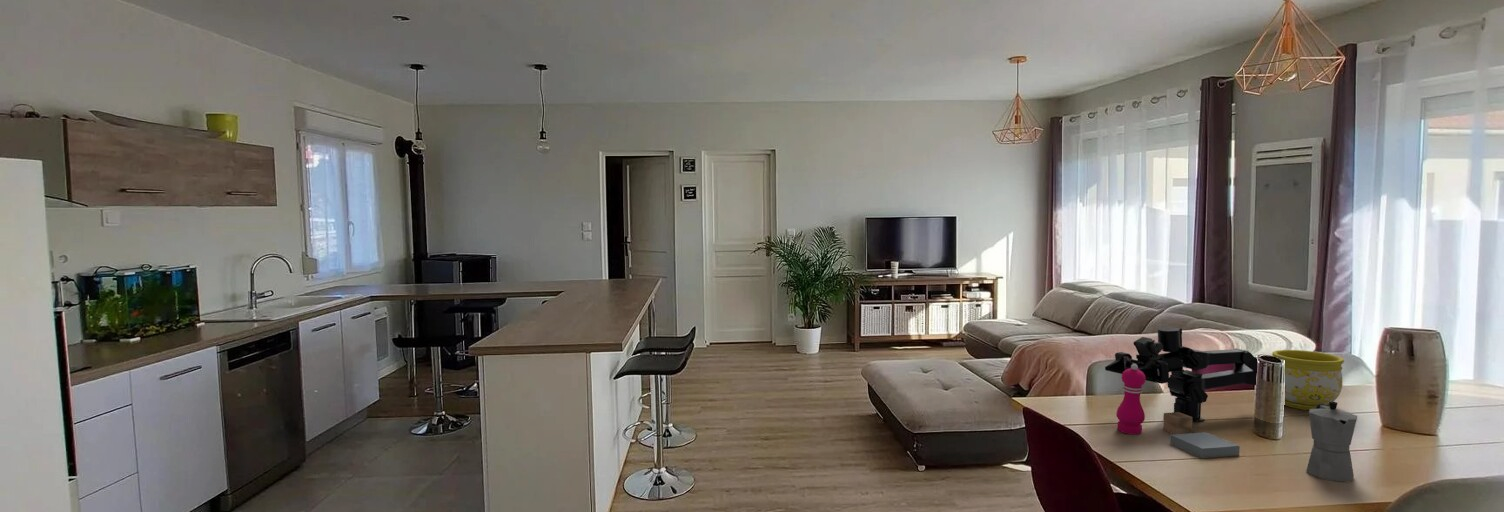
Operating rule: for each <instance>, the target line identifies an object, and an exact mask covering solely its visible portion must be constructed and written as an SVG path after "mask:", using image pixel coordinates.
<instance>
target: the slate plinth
mask: <svg viewBox="0 0 1504 512" xmlns="http://www.w3.org/2000/svg"><path fill="white" fill-rule="evenodd" d="M1169 439H1170V440H1169V444H1170V445H1172V446H1175V447H1176V448H1179V449H1181V450H1183V451H1184V452H1188V453H1190V454H1191V455H1194V456H1197V457H1199V458H1201V459H1205V458H1206V459H1207V458H1219V457H1221V458H1222V457H1230V456H1231V457H1232V456H1233V457H1234V456H1240V451H1241V450H1240V448H1241V447H1240V445H1239V444H1236V443H1233V442H1232V441H1229V440H1226V439H1223V438H1221V437H1219V436H1216V435H1214V434H1211V433H1208V432H1204V431H1203V432H1192V433H1189V434H1175V435H1174V434H1170V435H1169Z"/></svg>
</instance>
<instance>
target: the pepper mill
mask: <svg viewBox="0 0 1504 512" xmlns="http://www.w3.org/2000/svg"><path fill="white" fill-rule="evenodd" d="M1121 381H1122V382H1123V384H1122V390H1123V391H1124V394H1123V395H1124V396H1123V399H1122V401H1121V403H1120V404H1119V406H1118V408H1117V410H1116V413H1115V414H1116V418H1117V420H1118V421H1117V427H1116V428H1117V430H1118V431H1120V432H1122V433H1123V434H1129V435H1139V434H1141V433H1142V432H1143V425H1142V423H1143V422H1144V421H1145V420H1146V418H1145V417H1146V415H1145V410H1144V409H1143V406H1142V404H1141V403H1142V402H1141V393H1143V388H1144V387H1143V386H1144V385H1145V383H1146V378H1145V375H1144V373H1143V372H1142V371H1140V370H1138V366H1137V365H1136V364H1132V365H1131V368H1130V369H1126V370H1125V371H1124V372H1123V373H1122V374H1121Z"/></svg>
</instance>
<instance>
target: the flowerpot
mask: <svg viewBox="0 0 1504 512" xmlns="http://www.w3.org/2000/svg"><path fill="white" fill-rule="evenodd" d="M1271 354H1272V357H1273V356H1274V357H1278V358H1282V359H1284V360H1285V405H1284V406H1285V407H1289V408H1293V409H1297V410H1302V411H1310V409H1316V407H1317V405H1318V404H1324V405H1325V406H1328V407H1329V409H1330V404H1329V402H1332V401H1333V402H1336V400H1337V399H1338V397H1339V396H1340V394H1341V393H1342V389H1343V373H1342V369H1343V367H1342V365H1343V364H1344V363H1345V359H1344V358H1343V357H1341V356H1338V355H1336V354H1331V353H1325V352H1320V351H1313V350H1312V351H1310V350H1299V349H1280V350H1275V351H1272V353H1271ZM1274 357H1273V358H1274Z"/></svg>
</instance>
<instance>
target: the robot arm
mask: <svg viewBox="0 0 1504 512" xmlns="http://www.w3.org/2000/svg"><path fill="white" fill-rule="evenodd" d="M1156 330H1157V341H1156V340H1155V339H1153V338H1150V337H1145V336H1142V337H1140V338H1138V339H1136V340H1135V341H1133V346H1135V349H1136V351H1137V353H1138V354H1135V355H1136V359H1133V356H1132V355H1131V354H1130V353H1127V352H1123V351H1120V352H1116V353H1115V354H1114V357H1115V360H1114V361H1112V362H1110V363H1109V364H1108V365H1106V366H1105V367H1104V369H1105V371H1107V372H1111V373H1115V374H1116V373H1117V374H1120V375H1122V373H1123V372H1124V371H1125V370H1126V369H1130V368H1131V365H1132V364H1136V365H1137V366H1138V370H1140V371H1142V372H1143V373H1144V375H1145V378H1146V380H1145V382H1146V381H1147V382H1152V383H1155V384H1156V383H1158V384H1167V387H1168V391H1169V393H1170V396H1171V397H1175V399H1174V403H1173V412H1180V413H1183V414H1185V415H1188V416H1191V417H1192V423H1193V422H1204V421H1205V419H1206V418H1203V417H1202V416H1201V413H1202V404H1203V403H1206V402H1207V400H1208V396H1209V395H1208V393H1207V392H1206V391H1207V390H1210V389H1211V390H1212V389H1218V388H1225V387H1230V386H1231V387H1232V386H1237V385H1243V384H1245V385H1252V386H1257V385H1256V373H1257V358H1256V357H1255V356H1254V355H1253V353H1251V352H1250V351H1249V350H1246V349H1240V348H1238V347H1237V348H1232V349H1218V350H1217V349H1215V350H1214V349H1213V350H1212V349H1211V350H1200V349H1199V350H1198V349H1194V348H1191V347H1187V346H1183V328H1180V327H1165V326H1161V327H1158V328H1157V329H1156ZM1161 352H1162V353H1161ZM1163 352H1164V353H1163ZM1228 364H1229V365H1231V364H1233V365H1232V366H1233V369H1232V370H1231V369H1230V370H1224V371H1218V372H1211V373H1205V374H1203V373H1199V372H1195V371H1200V370H1204V369H1206V368H1208V367H1209V366H1214V365H1228ZM1184 368H1186V370H1184ZM1188 369H1189V370H1188ZM1192 370H1193V371H1192ZM1170 373H1171V374H1170Z"/></svg>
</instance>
